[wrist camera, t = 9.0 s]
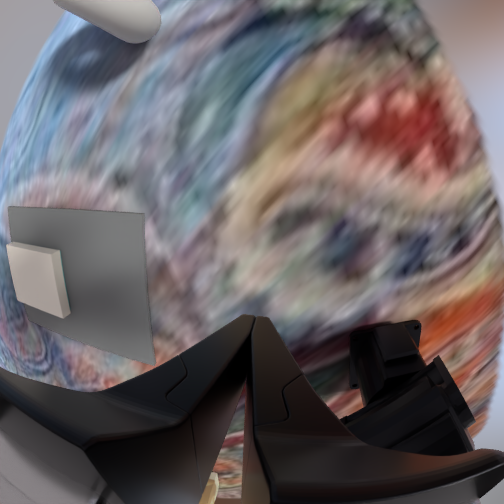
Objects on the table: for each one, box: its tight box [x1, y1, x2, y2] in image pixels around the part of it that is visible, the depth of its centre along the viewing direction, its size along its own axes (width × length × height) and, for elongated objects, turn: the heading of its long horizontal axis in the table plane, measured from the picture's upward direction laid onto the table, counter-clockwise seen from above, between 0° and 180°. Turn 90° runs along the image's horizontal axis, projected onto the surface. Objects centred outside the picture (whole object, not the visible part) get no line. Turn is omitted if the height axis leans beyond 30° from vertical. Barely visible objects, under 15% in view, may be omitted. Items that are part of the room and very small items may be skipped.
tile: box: [6, 242, 71, 319], centre depth 24 cm, size 2×7×9 cm
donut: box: [53, 0, 161, 43], centre depth 12 cm, size 10×3×10 cm, turn 49°
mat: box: [8, 206, 156, 366], centre depth 24 cm, size 20×15×1 cm
